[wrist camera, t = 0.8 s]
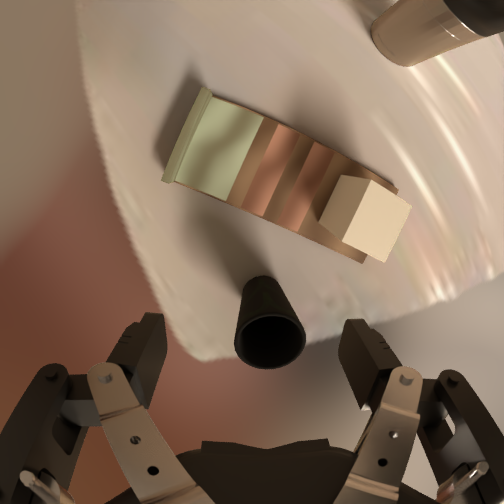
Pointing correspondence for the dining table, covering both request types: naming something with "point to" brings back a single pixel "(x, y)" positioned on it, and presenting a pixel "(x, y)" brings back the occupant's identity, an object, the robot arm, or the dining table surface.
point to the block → (365, 215)
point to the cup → (267, 326)
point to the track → (262, 168)
